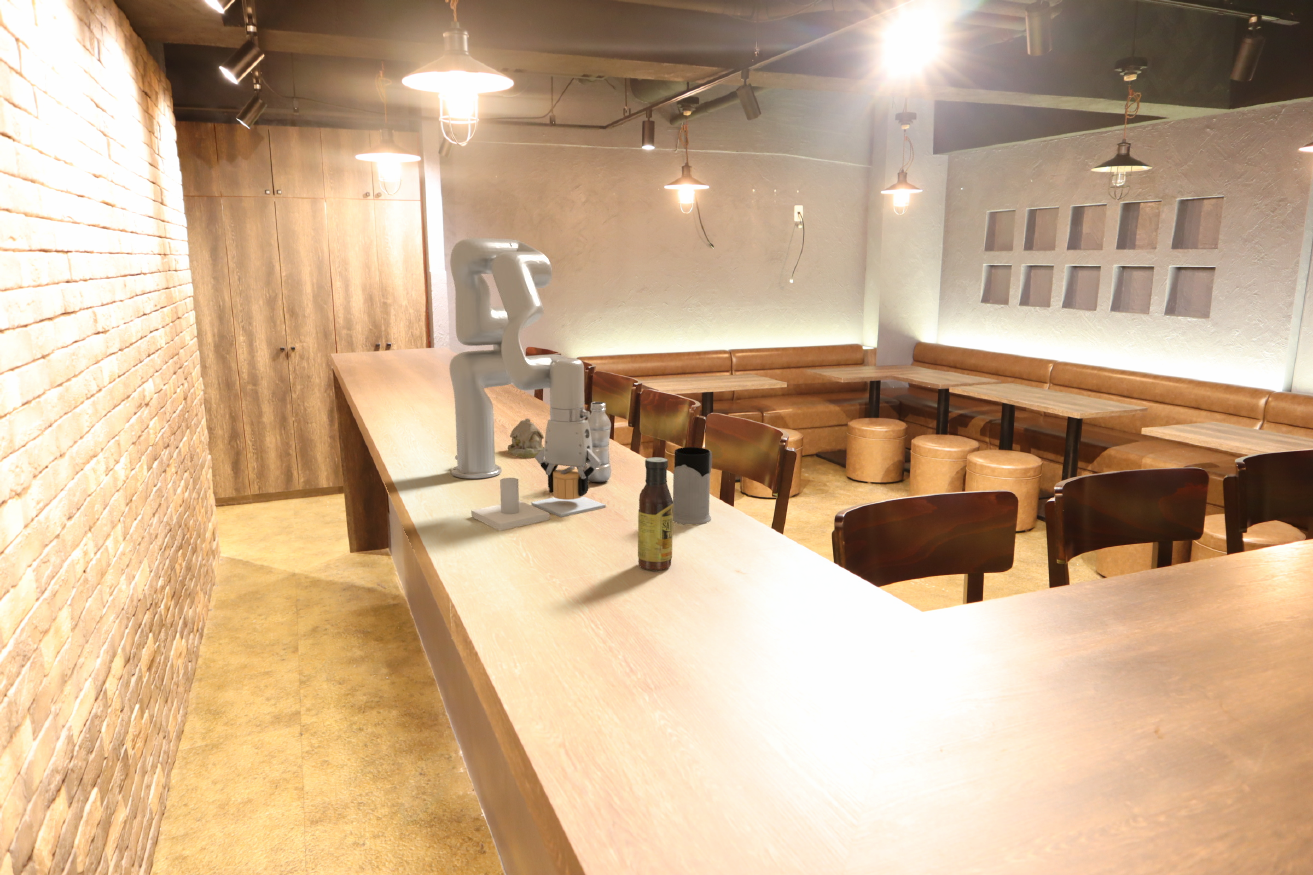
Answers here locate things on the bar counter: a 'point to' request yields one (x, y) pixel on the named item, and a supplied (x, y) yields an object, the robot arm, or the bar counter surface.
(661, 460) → the sauce bottle
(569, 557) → the bar counter surface
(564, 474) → the knob
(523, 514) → the post block
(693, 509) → the glass holder
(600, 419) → the plastic bottle
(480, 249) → the robot arm
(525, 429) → the ceramic model
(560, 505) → the mat
